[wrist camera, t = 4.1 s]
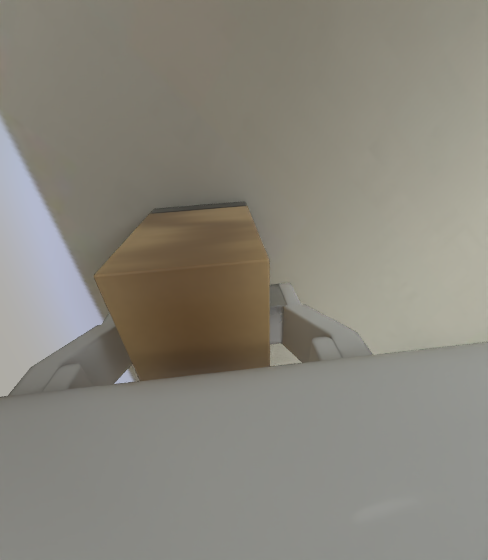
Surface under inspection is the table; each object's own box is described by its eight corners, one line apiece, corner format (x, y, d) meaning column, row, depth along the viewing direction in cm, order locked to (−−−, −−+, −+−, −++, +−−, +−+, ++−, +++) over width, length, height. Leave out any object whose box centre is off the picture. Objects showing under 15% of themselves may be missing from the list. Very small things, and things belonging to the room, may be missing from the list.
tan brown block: (183, 329, 14) (164, 437, 9) (153, 208, 10) (91, 275, 5) (252, 322, 14) (270, 424, 9) (246, 201, 10) (270, 259, 5)
